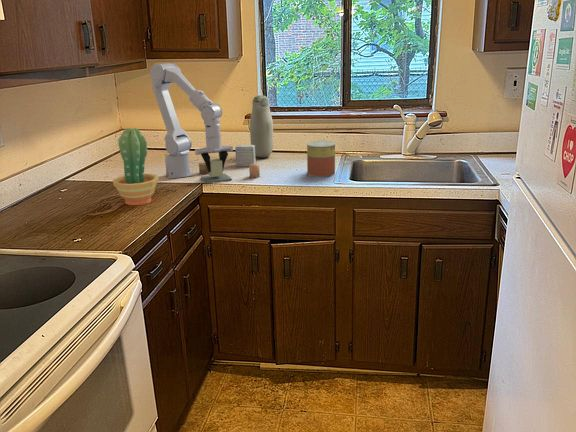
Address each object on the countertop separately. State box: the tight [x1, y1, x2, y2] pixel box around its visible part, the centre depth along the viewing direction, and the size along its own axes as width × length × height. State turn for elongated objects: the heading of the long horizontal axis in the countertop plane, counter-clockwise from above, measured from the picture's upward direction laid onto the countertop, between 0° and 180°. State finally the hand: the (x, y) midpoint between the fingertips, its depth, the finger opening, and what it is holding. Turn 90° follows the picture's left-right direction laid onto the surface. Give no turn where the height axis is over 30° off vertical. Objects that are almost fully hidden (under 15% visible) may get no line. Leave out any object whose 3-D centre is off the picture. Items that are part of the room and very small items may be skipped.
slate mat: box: [200, 173, 232, 185], centre depth 209 cm, size 10×9×1 cm
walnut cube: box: [198, 162, 209, 176], centre depth 218 cm, size 4×4×4 cm
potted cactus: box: [112, 127, 159, 206], centre depth 179 cm, size 15×15×25 cm
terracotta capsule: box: [248, 163, 261, 179], centre depth 211 cm, size 4×4×5 cm
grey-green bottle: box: [249, 94, 274, 159], centre depth 240 cm, size 10×10×28 cm
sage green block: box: [208, 157, 224, 177], centre depth 207 cm, size 4×4×6 cm
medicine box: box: [234, 144, 257, 168], centre depth 229 cm, size 8×4×9 cm, turn 84°
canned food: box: [306, 140, 336, 178], centre depth 213 cm, size 11×11×12 cm
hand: (215, 171), depth 208 cm, fingers closed on sage green block, 4 cm apart
